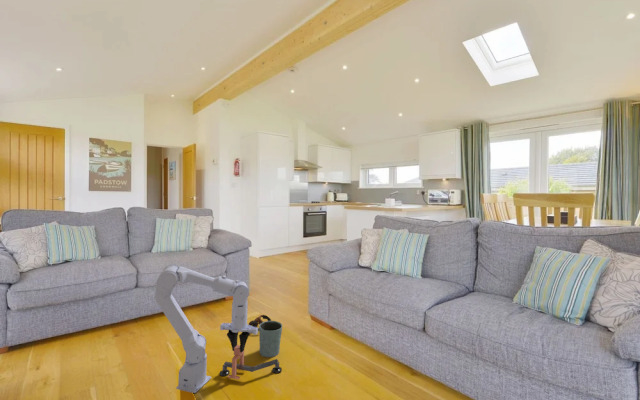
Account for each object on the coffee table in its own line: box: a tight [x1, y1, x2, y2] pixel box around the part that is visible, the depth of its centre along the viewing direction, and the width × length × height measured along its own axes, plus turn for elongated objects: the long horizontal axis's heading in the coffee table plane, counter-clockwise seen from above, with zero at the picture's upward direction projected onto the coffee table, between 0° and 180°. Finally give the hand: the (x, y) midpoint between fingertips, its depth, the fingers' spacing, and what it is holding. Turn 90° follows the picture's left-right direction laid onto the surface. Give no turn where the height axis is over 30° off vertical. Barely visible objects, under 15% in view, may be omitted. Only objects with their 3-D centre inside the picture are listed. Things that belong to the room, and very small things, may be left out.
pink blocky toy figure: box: [227, 344, 245, 380], centre depth 116 cm, size 4×7×10 cm, turn 168°
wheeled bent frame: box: [219, 358, 282, 377], centre depth 119 cm, size 12×22×4 cm, turn 76°
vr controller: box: [248, 314, 272, 328], centre depth 156 cm, size 12×10×8 cm
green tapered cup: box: [258, 320, 283, 358], centre depth 135 cm, size 10×10×12 cm
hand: (238, 350), depth 116 cm, fingers closed on pink blocky toy figure, 2 cm apart
